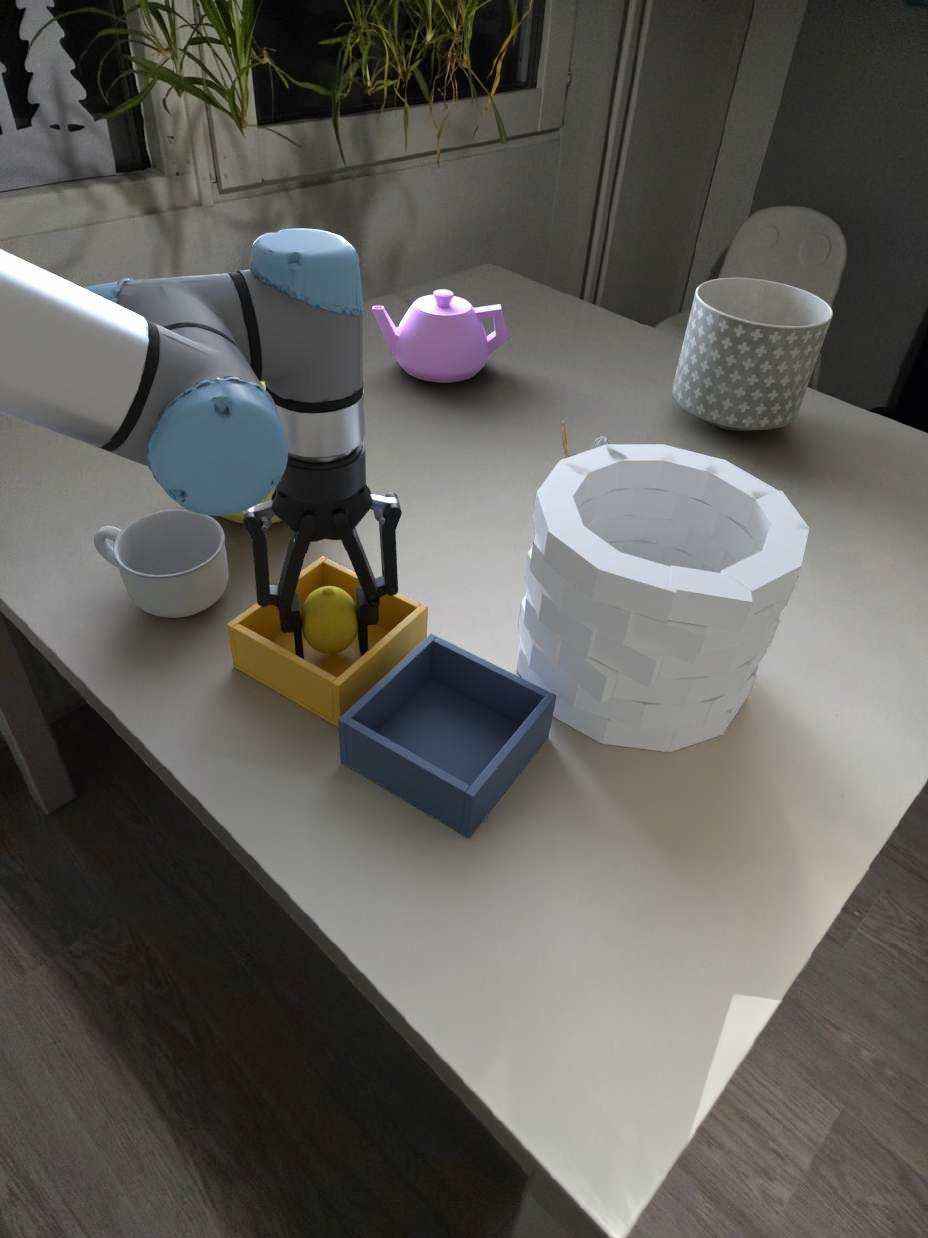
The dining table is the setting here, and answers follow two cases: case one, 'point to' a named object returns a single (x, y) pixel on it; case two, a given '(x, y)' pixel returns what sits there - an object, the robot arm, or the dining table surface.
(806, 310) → the planter
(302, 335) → the robot arm
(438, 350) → the teapot
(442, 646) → the blue bin
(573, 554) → the white brick well
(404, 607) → the yellow bin
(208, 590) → the teacup
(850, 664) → the dining table surface
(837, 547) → the dining table surface
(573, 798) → the dining table surface
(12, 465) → the dining table surface
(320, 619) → the lemon
